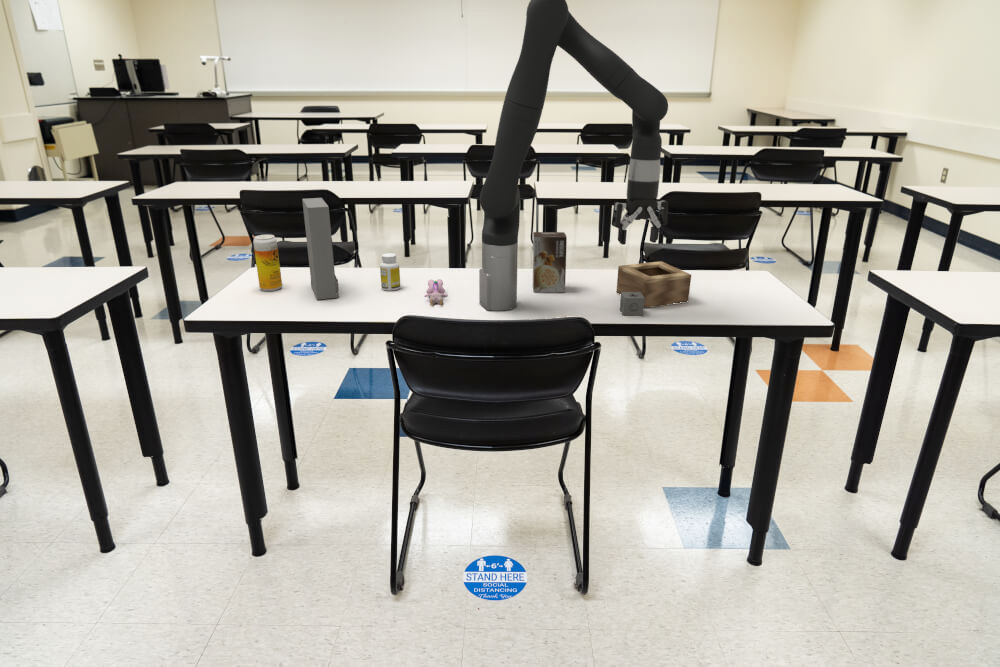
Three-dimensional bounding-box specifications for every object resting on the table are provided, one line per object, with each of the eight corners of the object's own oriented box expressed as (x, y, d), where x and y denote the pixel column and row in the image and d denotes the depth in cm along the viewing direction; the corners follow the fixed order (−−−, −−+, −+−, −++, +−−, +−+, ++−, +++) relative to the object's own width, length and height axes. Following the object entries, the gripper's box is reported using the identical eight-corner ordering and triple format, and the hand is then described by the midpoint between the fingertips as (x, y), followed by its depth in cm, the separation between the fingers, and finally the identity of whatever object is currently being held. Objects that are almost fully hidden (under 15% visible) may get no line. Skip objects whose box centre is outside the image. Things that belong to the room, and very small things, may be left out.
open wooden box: (643, 308, 170) (646, 280, 167) (616, 292, 182) (618, 265, 179) (688, 302, 175) (691, 274, 172) (658, 287, 187) (661, 261, 184)
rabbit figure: (448, 311, 171) (446, 285, 184) (448, 291, 168) (446, 266, 181) (424, 311, 171) (424, 285, 183) (423, 291, 168) (423, 266, 180)
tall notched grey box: (340, 298, 176) (331, 206, 166) (317, 300, 174) (307, 208, 164) (332, 283, 188) (324, 197, 178) (311, 286, 186) (301, 198, 176)
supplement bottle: (402, 285, 187) (400, 252, 183) (398, 291, 182) (397, 257, 178) (383, 285, 187) (381, 252, 183) (379, 291, 182) (377, 257, 178)
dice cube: (623, 316, 164) (624, 298, 162) (619, 310, 169) (621, 291, 167) (642, 316, 164) (644, 298, 162) (638, 310, 169) (640, 291, 167)
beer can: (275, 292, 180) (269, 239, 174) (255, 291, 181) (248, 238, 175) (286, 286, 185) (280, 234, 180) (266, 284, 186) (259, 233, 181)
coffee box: (563, 286, 187) (565, 231, 181) (565, 293, 181) (567, 237, 175) (531, 285, 187) (533, 231, 181) (532, 292, 181) (534, 236, 175)
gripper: (623, 181, 152) (618, 248, 158) (677, 179, 156) (670, 244, 162) (610, 176, 159) (605, 241, 165) (662, 174, 162) (655, 238, 169)
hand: (637, 242), depth 163 cm, fingers open, 8 cm apart
